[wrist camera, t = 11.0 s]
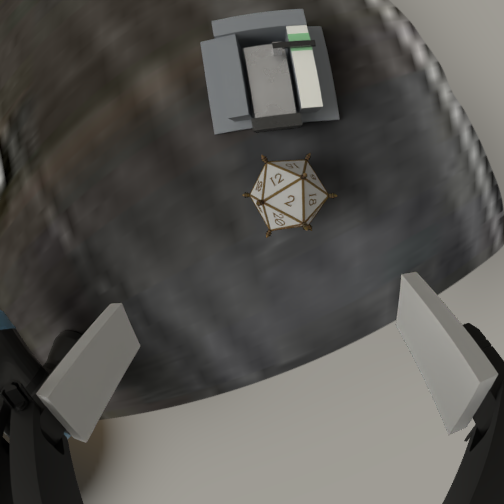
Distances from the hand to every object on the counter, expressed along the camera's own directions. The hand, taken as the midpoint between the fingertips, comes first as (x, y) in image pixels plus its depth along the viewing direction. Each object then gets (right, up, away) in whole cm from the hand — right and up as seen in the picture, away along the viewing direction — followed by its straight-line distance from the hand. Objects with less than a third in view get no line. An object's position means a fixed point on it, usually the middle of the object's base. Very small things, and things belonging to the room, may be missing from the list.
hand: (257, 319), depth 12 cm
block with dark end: (+3, +20, +14) cm, 25 cm away
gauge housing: (+2, +23, +15) cm, 27 cm away
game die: (+4, +10, +20) cm, 23 cm away
